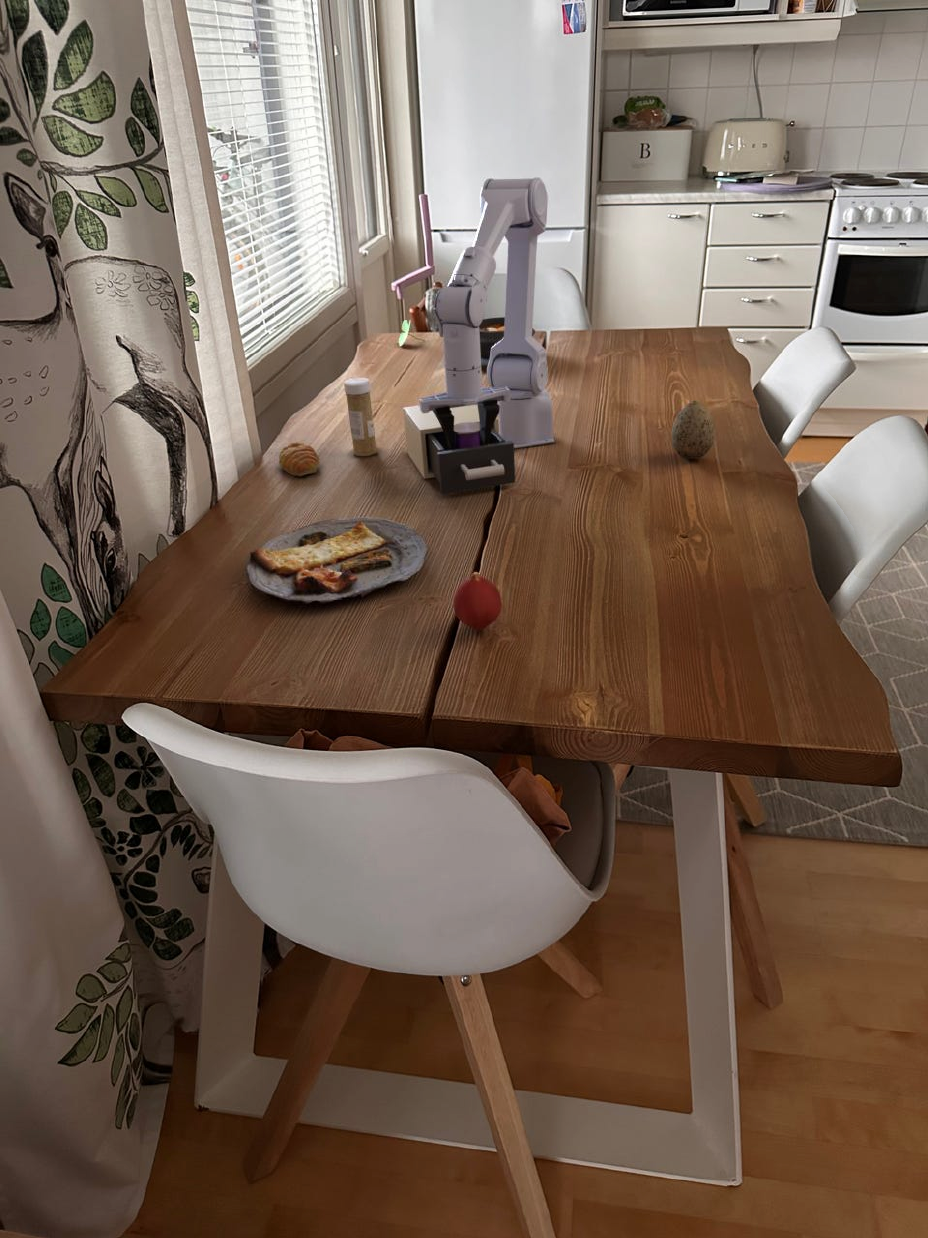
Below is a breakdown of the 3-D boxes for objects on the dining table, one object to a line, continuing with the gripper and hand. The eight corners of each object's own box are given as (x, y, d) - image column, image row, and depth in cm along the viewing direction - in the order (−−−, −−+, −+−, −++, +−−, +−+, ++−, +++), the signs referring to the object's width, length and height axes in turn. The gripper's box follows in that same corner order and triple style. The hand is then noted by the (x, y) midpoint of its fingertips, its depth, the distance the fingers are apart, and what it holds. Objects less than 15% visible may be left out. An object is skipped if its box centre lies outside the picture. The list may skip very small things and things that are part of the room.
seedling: (416, 361, 243) (394, 351, 240) (419, 337, 247) (398, 326, 243) (429, 347, 238) (407, 337, 235) (433, 323, 241) (411, 312, 238)
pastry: (328, 473, 163) (325, 452, 161) (291, 481, 160) (287, 460, 159) (312, 457, 170) (309, 437, 168) (276, 465, 168) (273, 445, 166)
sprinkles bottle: (381, 453, 170) (374, 380, 164) (360, 459, 168) (351, 385, 161) (370, 446, 174) (361, 375, 167) (348, 452, 172) (339, 380, 165)
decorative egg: (661, 460, 158) (664, 403, 153) (684, 448, 163) (687, 392, 158) (698, 468, 154) (703, 410, 149) (720, 456, 158) (725, 398, 154)
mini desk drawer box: (500, 466, 160) (498, 418, 156) (424, 478, 158) (420, 430, 153) (478, 442, 172) (476, 397, 168) (407, 453, 169) (403, 407, 165)
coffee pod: (488, 459, 151) (486, 429, 149) (457, 464, 150) (455, 434, 148) (479, 449, 156) (477, 420, 153) (449, 454, 155) (447, 424, 152)
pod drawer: (524, 493, 147) (523, 452, 144) (449, 505, 145) (446, 464, 141) (493, 458, 162) (491, 420, 158) (424, 468, 159) (420, 430, 156)
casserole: (539, 372, 211) (539, 334, 206) (458, 375, 212) (456, 338, 208) (538, 344, 232) (538, 310, 228) (465, 348, 234) (463, 314, 230)
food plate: (277, 630, 116) (272, 605, 114) (228, 561, 134) (224, 539, 132) (454, 578, 125) (452, 554, 124) (386, 520, 143) (384, 499, 142)
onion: (453, 620, 116) (449, 562, 112) (499, 615, 116) (497, 558, 112) (457, 644, 110) (453, 585, 106) (505, 639, 111) (502, 580, 107)
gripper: (424, 378, 141) (430, 463, 147) (514, 366, 143) (517, 450, 150) (413, 367, 147) (421, 449, 153) (501, 355, 149) (504, 436, 156)
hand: (468, 448), depth 152 cm, fingers closed on coffee pod, 5 cm apart
